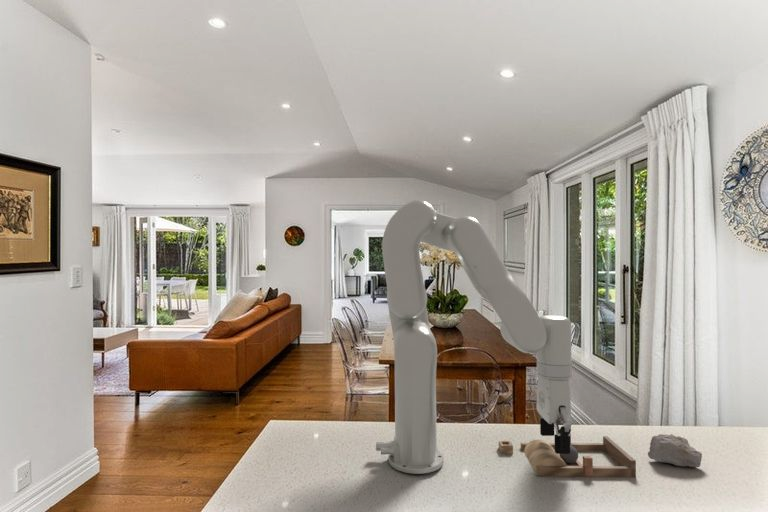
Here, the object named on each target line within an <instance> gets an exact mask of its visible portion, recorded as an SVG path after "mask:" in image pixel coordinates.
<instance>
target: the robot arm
mask: <svg viewBox="0 0 768 512" xmlns="http://www.w3.org/2000/svg"><path fill="white" fill-rule="evenodd" d="M421 243H424V244H427V245H430V246H431V247H432V246H433V247H436V248H439V249H443V250H445V251H449V252H453V253H454V254H455V256H456V258H457V260H458V261H459V263H460V264H461V266H462V268H463V270H464V271H465V273H466V275H467V277H468V279H469V281H470V282H471V284H472V286H473V288H474V289H475V291H477V293H478V294H479V295H480V296H481V297H482V298H483V299H484V300H485V301H486V302H487V303H488V304H489V305H490V306H491V307H492V309H493V310H494V312H495V313H496V315H498V317H499V319H500V320H501V322H500V327H499V329H500V330H499V332H500V334H501V335H500V336H502V338H503V340H504V341H506V343H508V344H509V345H511V347H513V348H515V349H516V350H518V351H520V352H521V353H524V354H535V353H536V376H537V384H536V412H537V413H538V414H539V417H540V419H539V421H540V422H539V425H540V426H539V429H540V430H539V433H540V435H541V436H542V437H545V436H546V437H554V443H555V453H556V454H558V455H560V454H569V453H570V436H571V437H572V434H571V432H572V428H571V427H572V425H573V424H572V419H571V418H572V403H571V389H570V388H571V386H570V380H571V379H572V373H573V372H572V323H571V320H570V319H569V318H568V317H566V316H563V315H551V314H550V315H549V314H548V315H546V314H545V315H540V316H539V314H538V312H537V310H536V308H535V307H534V305H533V303H532V302H531V300H530V299H529V298H528V296H527V295H526V294H525V292H524V290H523V289H522V288H521V287H520V285H519V283H518V282H517V280H516V279H515V278H514V277H513V275H512V274H511V272H510V271H509V270H508V269H507V267H506V265H505V264H504V262H503V260H502V258H501V256H500V255H499V254H498V252H497V250H496V248H495V246H494V245H493V243H492V241H491V239H490V237H489V236H488V233H487V232H486V230H485V229H484V227H483V226H482V224H481V223H480V221H478V219H476V218H475V217H473V216H469V215H466V216H465V215H464V216H460V217H454V216H452V215H451V216H450V215H447V214H444V213H441V212H437V211H436V210H435V208H434V207H433V205H432V204H430V203H429V202H428V201H426V200H422V199H415V200H411V201H409V202H407V203H405V204H404V205H403V206H402V207H400V208H399V209H398V210H397V211H396V212H395V213H394V214H393V215H391V217H390V218H389V220H388V222H387V223H386V227H385V230H384V231H383V236H382V244H381V246H382V248H381V249H382V261H383V268H384V275H385V276H384V277H385V282H386V290H387V291H386V301H387V307H388V312H389V319H390V325H391V331H392V336H393V337H392V338H393V347H394V348H393V350H394V354H393V355H394V431H395V432H394V434H395V436H393V440H389V442H386V441H385V442H384V441H376V442H375V451H376V452H378V451H379V452H380V455H388V462H389V465H390V466H391V467H392V468H393V469H395V470H397V471H399V472H403V473H406V474H414V475H417V474H419V475H420V474H428V473H433V472H435V471H438V470H439V469H440V468H442V467H443V465H444V455H443V453H441V452H440V451H439V450H438V449H437V363H438V346H437V341H436V338H435V336H434V333H433V332H432V330H431V327H430V322H429V315H428V309H427V304H428V294H427V290H426V287H425V282H424V281H425V280H424V277H423V276H424V275H423V271H422V265H421V264H422V263H421V256H420V245H421ZM559 426H561V427H559ZM555 433H556V434H555Z"/></svg>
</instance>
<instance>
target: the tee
mask: <svg viewBox="0 0 768 512" xmlns="http://www.w3.org/2000/svg"><path fill="white" fill-rule="evenodd" d="M498 449H499V451H500V453H501V454H505V455H506V454H514V445H513V443H512V442H511V440H498Z"/></svg>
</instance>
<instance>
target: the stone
mask: <svg viewBox="0 0 768 512" xmlns="http://www.w3.org/2000/svg"><path fill="white" fill-rule="evenodd" d="M648 449H649V451H648V453H647V456H648V458H649V459H651V460H653V461H656V462H658V463H666V464H667V463H668V464H672V465H674V466H678V467H691V468H700V466H701V464H702V458H703V454H702V452H701V451H699V450H697V449H695V448H694V447H693V446H691V445H690V443H689V441H688V439H687V438H685V437H682V436H675V435H673V434H671V433H670V434H662V433H661V434H657V435H653V436H652V437H651V439H650V444H649V448H648Z"/></svg>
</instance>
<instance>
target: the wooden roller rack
mask: <svg viewBox="0 0 768 512" xmlns="http://www.w3.org/2000/svg"><path fill="white" fill-rule="evenodd" d="M570 445H571V446H573V447H574V448H575V449H576V450H577V452H579V451H581V452H582V451H583V452H586V451H587V452H591V451H592V452H593V451H594V452H605V453H606V454H607V455H609V456H610V458H611V459H612V460H613V461H614V462H615V463H616V464H617V465H608V466H607V465H605V466H604V465H602V466H601V465H595V466H594V465H593V464H594V463H593V461H594V459H593V457H592V456H591V455H582V463H581V462H580V461H579V460H578V459H577V461H576V462H574V463H575V465H568V464H567V463H566V462H564V461H563V460H562V458H561V457H560V454H556V453H555V442H547V441H546V440H543V439H534V440H533V439H532V440H531V441H529V442H520V449H521V451H523V453H524V455H525V456H526V458H527V460H528V462H529V464H530V465H531V467H532V470H533V471H534V473H535V475H536V477H582V478H583V477H586V478H588V477H589V478H594V477H596V478H597V477H598V478H600V477H603V478H604V477H605V478H609V477H611V478H613V477H614V478H615V477H616V478H636V477H637V470H636V469H637V467H636V465H637V461H636V459H634V458H633V457H632V456H631V455H630V454H629V453H627V451H625V450H624V449H623V448H622V447H621V446H619V445H618V444H617V443H616V442H614V441H613V440H612V439H611V438H610V437H608V436H605V435H603V436H602V442H572V435H571V436H570Z"/></svg>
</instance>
